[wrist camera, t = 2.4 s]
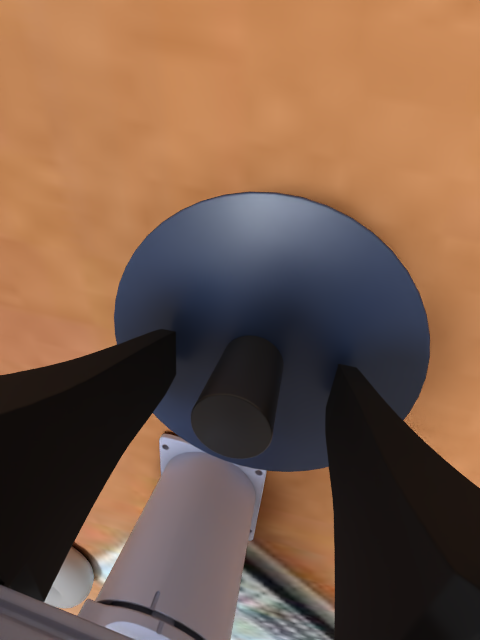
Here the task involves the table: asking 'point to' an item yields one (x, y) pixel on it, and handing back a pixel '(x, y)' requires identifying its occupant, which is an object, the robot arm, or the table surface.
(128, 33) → the table surface
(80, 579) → the donut
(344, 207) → the table surface
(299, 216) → the lid
